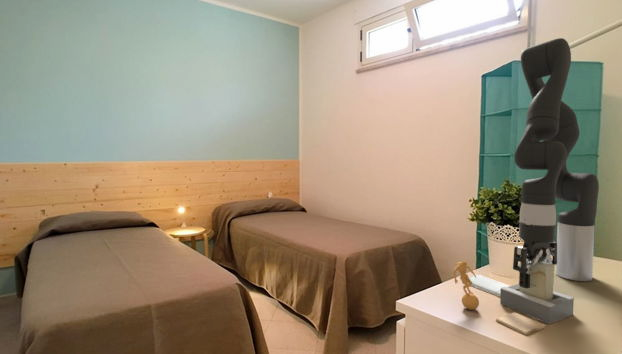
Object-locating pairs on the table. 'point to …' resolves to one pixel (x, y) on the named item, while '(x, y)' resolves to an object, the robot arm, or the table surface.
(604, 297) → the table surface
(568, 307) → the socket block
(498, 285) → the hard drive
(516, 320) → the cork coaster
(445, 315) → the table surface
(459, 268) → the figurine
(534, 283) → the skincare box
